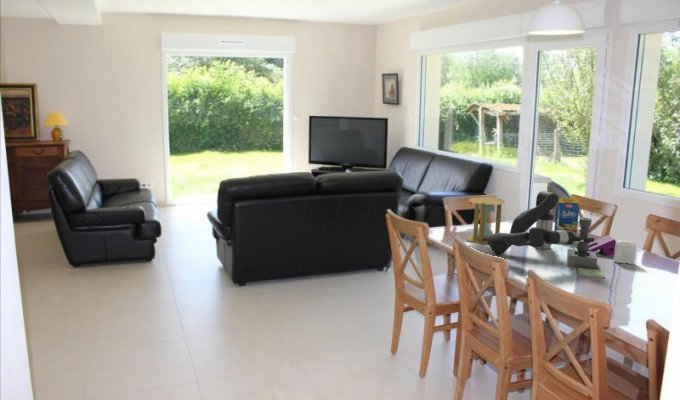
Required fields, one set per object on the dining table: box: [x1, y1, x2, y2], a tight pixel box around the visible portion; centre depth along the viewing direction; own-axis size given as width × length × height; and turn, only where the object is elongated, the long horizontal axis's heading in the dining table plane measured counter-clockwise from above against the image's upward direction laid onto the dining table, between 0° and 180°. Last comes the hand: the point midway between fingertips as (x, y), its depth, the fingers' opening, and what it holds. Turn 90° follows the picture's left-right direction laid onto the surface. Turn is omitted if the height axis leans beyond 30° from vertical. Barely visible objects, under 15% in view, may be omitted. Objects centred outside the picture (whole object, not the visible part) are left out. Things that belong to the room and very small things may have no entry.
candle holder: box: [576, 217, 592, 256], centre depth 310 cm, size 6×6×25 cm
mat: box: [577, 268, 606, 279], centre depth 297 cm, size 12×12×1 cm
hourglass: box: [466, 196, 506, 245], centre depth 358 cm, size 24×22×25 cm
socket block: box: [566, 248, 598, 270], centre depth 311 cm, size 14×14×6 cm
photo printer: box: [613, 240, 637, 265], centre depth 316 cm, size 10×4×12 cm, turn 72°
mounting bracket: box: [588, 234, 617, 256], centre depth 335 cm, size 10×8×18 cm
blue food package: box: [553, 198, 580, 234], centre depth 367 cm, size 6×12×25 cm, turn 90°
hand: (587, 238), depth 309 cm, fingers open, 8 cm apart
